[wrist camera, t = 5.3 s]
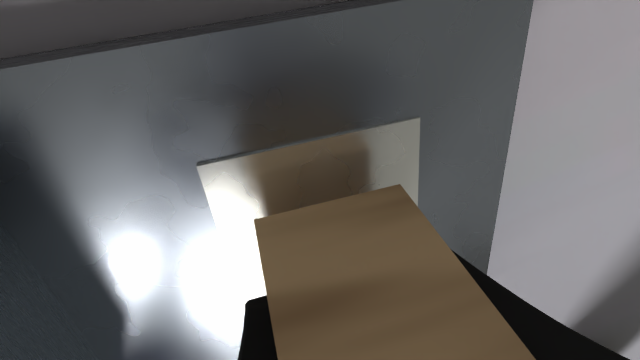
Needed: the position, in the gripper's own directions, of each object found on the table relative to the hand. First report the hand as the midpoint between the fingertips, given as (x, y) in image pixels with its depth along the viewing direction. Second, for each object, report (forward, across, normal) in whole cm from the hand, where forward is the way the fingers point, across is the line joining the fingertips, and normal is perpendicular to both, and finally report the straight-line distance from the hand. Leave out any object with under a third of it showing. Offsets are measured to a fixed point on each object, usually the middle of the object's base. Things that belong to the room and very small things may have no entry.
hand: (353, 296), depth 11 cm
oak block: (+2, 0, 0) cm, 2 cm away
